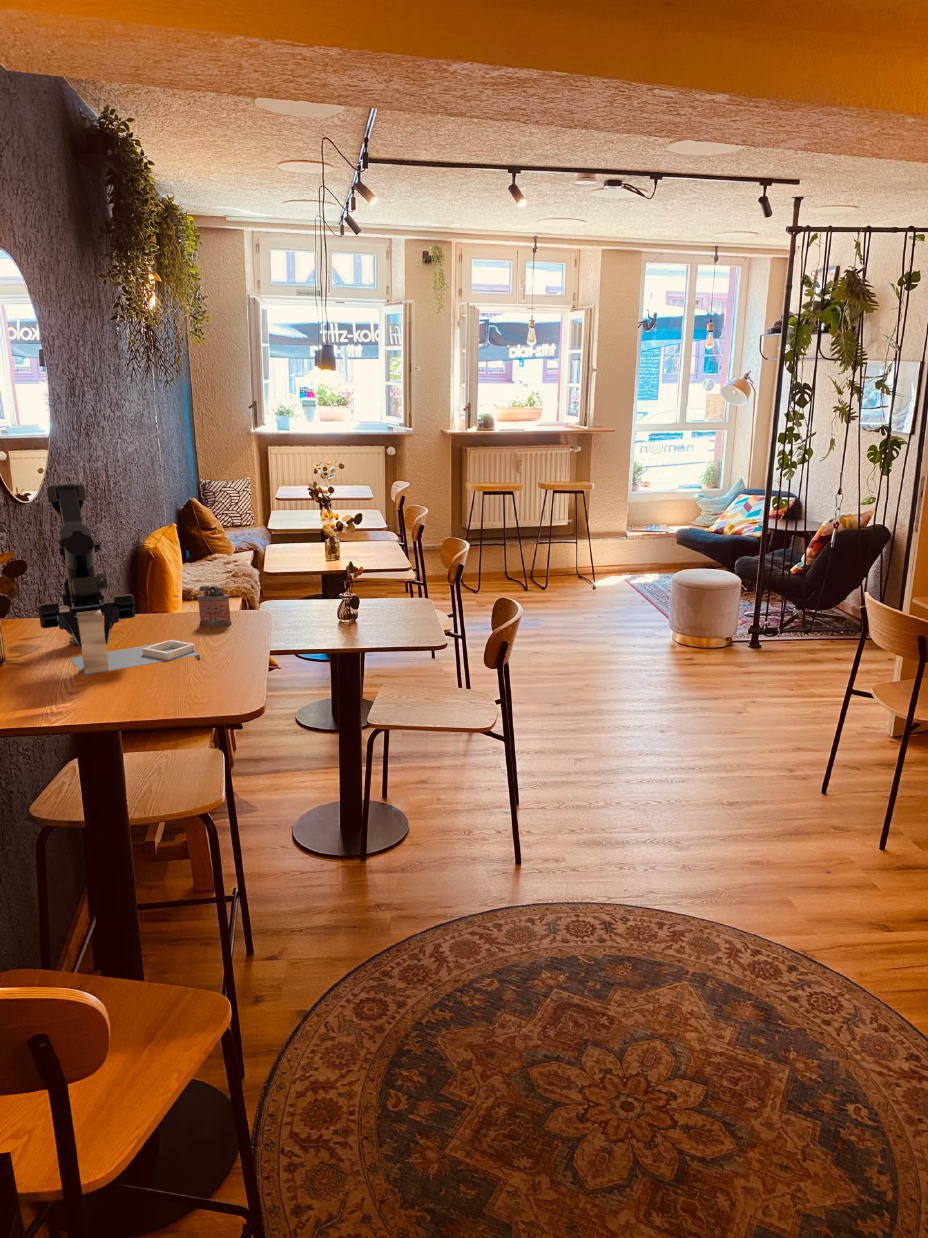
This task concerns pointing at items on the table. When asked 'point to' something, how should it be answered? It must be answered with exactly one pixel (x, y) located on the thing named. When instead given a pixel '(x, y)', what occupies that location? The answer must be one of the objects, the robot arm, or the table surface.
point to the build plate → (129, 658)
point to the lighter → (214, 606)
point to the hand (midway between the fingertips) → (93, 645)
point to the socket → (181, 650)
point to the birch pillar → (93, 641)
